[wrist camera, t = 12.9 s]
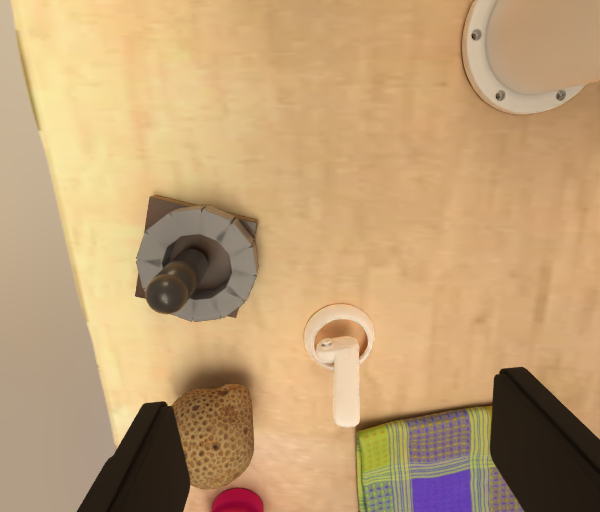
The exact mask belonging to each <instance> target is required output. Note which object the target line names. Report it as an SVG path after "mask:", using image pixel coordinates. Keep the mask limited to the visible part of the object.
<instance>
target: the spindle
mask: <svg viewBox="0 0 600 512" xmlns="http://www.w3.org/2000/svg"><path fill="white" fill-rule="evenodd" d="M192 206H199V205H195V204H190V203H186V202H182V201H178V200H174V199H170V198H166V197H162V196H157V195H154V196H151V197H150V198H149V205H148V211H147V218H146V225H145V232H147V231H146V230H148V229H149V228H150V227H151V226H153V225H154V224H155V223H156V222H158V221H159V220H160V219H162V218H163V217H164V216H165V215H167V214H168V213H170V212H172V211H174V210H175V209H178V208H184V207H192ZM226 213H228V212H226ZM228 214H231V215H233V216H235V218H237V219H238V220H239V221H240V222H241V224H242V225H243V226H244V227H245V229H246V230H247V231H248V232H249V234H250V235H251V236H252V237H253V239H254V238H255V234H256V229H257V225H258V220H256V219H252V218H248V217H244V216H240V215H236V214H232V213H228ZM235 218H234V219H235ZM145 232H144V234H145ZM253 241H254V240H253ZM170 260H171V262H170V263H168V264H167V265H166V266H165V267H164V268H163V269H162V270H161V271H160V272H159V273H158V274H157V275H156V276H155V277H154V278H153V279H152V280H151V281H150V282H149V284H148V286H147V288H146V292H145V291H144V289H145V288H142V284H141V280H140V276H139V273H138V280H137V286H136V293H135V296H136V297H140V298H145V299H146V300H147V303H148V304H149V306H150V307H151V308H152V309H153V310H154V311H156V312H158V313H161V314H172V313H175V312H177V311H179V310H180V309H182V308H183V307H184V306H185V304H186V303H187V301H188V300H189V298H190V297H191V295H192V293H193V292H194V290H195V289H197V290H199V291H203V290H211V289H217V288H218V287H220V286H221V285H222V284H224V283H225V282H226V281H228V280H229V279H230V276H231V274H232V269H231V263H230V257H229V254H228V253H227V252H226V251H225V250H224V248H223V247H222V246H221V245H220V244H219V242H218V241H216V240H213V239H211V238H208V237H206V236H203V235H201V234H197V235H188V236H181V237H180V238H179V239H177V240H176V241H175V242H174V245H173V248H172V251H171V254H170ZM238 308H239V307H238ZM238 308H237V309H235V310H234V311H233V312H231V313H230V314H228V315H227V316H230V317H235V318H236V316H237V312H238Z"/></svg>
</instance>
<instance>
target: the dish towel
mask: <svg viewBox="0 0 600 512" xmlns="http://www.w3.org/2000/svg"><path fill="white" fill-rule="evenodd" d="M491 419H492V406H484V407H472V408H464V409H457V410H452V411H446V412H441V413H435V414H429V415H425V416H420V417H413V418H410V419H403V420H397V421H392V422H388V423H384V424H381V425H378V426H375V427H371V428H368V429H364V430H361V431H358V432H357V434H356V439H357V441H356V461H357V486H358V501H359V512H524V510H523V509H522V507H521V506H520V504H519V502H518V501H517V499H516V498H515V496H514V495H513V493H512V491H511V490H510V488H509V487H508V485H507V483H506V482H505V480H504V479H503V477H502V475H501V474H500V472H499V471H498V469H497V468H496V466H495V464H494V463H493V461H492V458H491V455H490V434H491Z"/></svg>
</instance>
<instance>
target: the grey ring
mask: <svg viewBox="0 0 600 512" xmlns="http://www.w3.org/2000/svg"><path fill="white" fill-rule="evenodd" d="M234 218H235V216H233V215H231V214H228V213H226V212H224V211H221V210H219V209H216V208H214V207H212V206H209V205H208V206H206V205H201V206H192V207H184V208H178V209H175V210H174V211H172V212H170V213H168V214H167V215H165V216H164V217H163V218H162V219H160V220H159V221H158V222H156V223H155V224H154V225H153V226H151V227H150V228H149V229H148V230H146V231H147V232H145V234H144V237H143V240H142V243H141V246H140V249H139V251H138V254H137V257H136V259H138V260H137V261H136V264H137V268H138V272H139V276H140V280H141V284H142V288H145V289H144V291H145V292H146V288H147V286H148V284H149V282H150V281H151V280H152V279H153V278H154V277H155V276H156V275H157V274H158V273H159V272H160V271H161V270H162V269H163V268H164V267H165V266H166V265H167V264H168V263H170V262H171V260H170V254H171V251H172V248H173V245H174V242H175V241H176V240H177V239H179V238H180V237H181V236H188V235H197V234H201V235H203V236H206V237H208V238H211V239H213V240H216V241H218V242H219V244H220V245H221V246H222V247H223V248H224V250H225V251H226V252H227V253H228V254H229V257H230V263H231V269H232V274H231V276H230V279H229V280H228V281H226V282H225V283H224V284H222V285H221V286H220V287H218V288H217V289H211V290H203V291H199V290H197V289H195V290H194V292H193V293H192V295H191V297H190V298H189V300H188V301H187V303H186V304H185V306H184V307H183V308H182V309H180V310H179V311H177V312H175V313H172V315H175V316H177V317H180V318H183V319H186V320H188V321H191V322H192V321H193V320H194V322H198V321H206V320H215V319H221V318H222V317H223V318H224V317H226V316H227V315H228V314H230V313H231V312H233V311H234V310H235V309H237V308H238V307H240V306H241V305H242V304H244V303H245V301H246V300H247V298H248V296H249V294H250V291H251V289H252V287H253V284H254V282H255V280H256V277H257V273H258V267H259V265H258V258H257V252H256V245H255V241H253V240H254V239H253V237H252V236H251V235H250V234H249V232H248V231H247V230H246V229H245V227H244V226H243V225H242V224H241V222H240V221H239V220H238V219H237V218H235V219H234Z"/></svg>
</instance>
